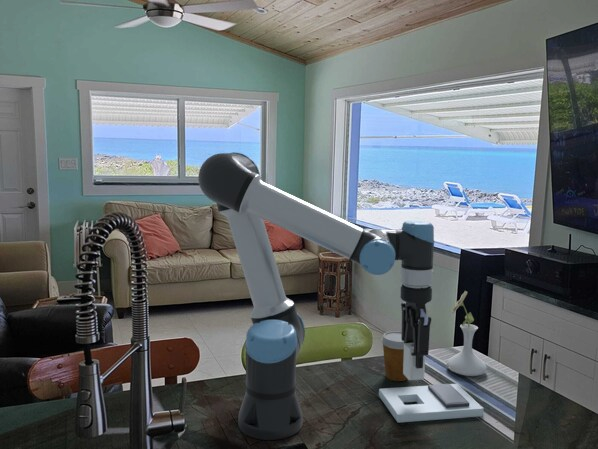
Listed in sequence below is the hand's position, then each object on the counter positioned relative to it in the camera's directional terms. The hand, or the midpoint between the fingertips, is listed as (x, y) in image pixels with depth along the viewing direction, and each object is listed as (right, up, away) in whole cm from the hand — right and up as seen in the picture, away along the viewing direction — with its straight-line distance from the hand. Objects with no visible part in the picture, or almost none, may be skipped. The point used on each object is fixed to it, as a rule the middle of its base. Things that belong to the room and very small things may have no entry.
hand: (413, 375), depth 133 cm
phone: (+9, -6, +3) cm, 12 cm away
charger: (0, 0, 0) cm, 0 cm away
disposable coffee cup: (-1, -6, +19) cm, 20 cm away
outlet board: (+4, -8, +2) cm, 10 cm away
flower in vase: (+20, -6, +23) cm, 31 cm away
